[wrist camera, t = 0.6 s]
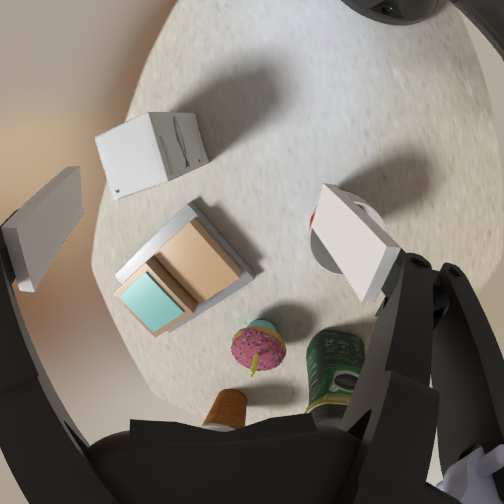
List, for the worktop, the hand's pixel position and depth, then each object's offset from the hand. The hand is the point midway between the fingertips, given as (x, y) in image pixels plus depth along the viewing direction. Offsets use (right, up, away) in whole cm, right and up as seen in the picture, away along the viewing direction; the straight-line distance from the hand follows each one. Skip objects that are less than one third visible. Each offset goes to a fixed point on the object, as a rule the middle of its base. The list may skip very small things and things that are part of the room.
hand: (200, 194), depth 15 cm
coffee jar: (+17, -19, +32) cm, 41 cm away
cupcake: (+4, -16, +33) cm, 37 cm away
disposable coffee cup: (-1, -34, +43) cm, 55 cm away
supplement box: (-7, +12, +22) cm, 26 cm away
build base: (-9, -6, +31) cm, 33 cm away
